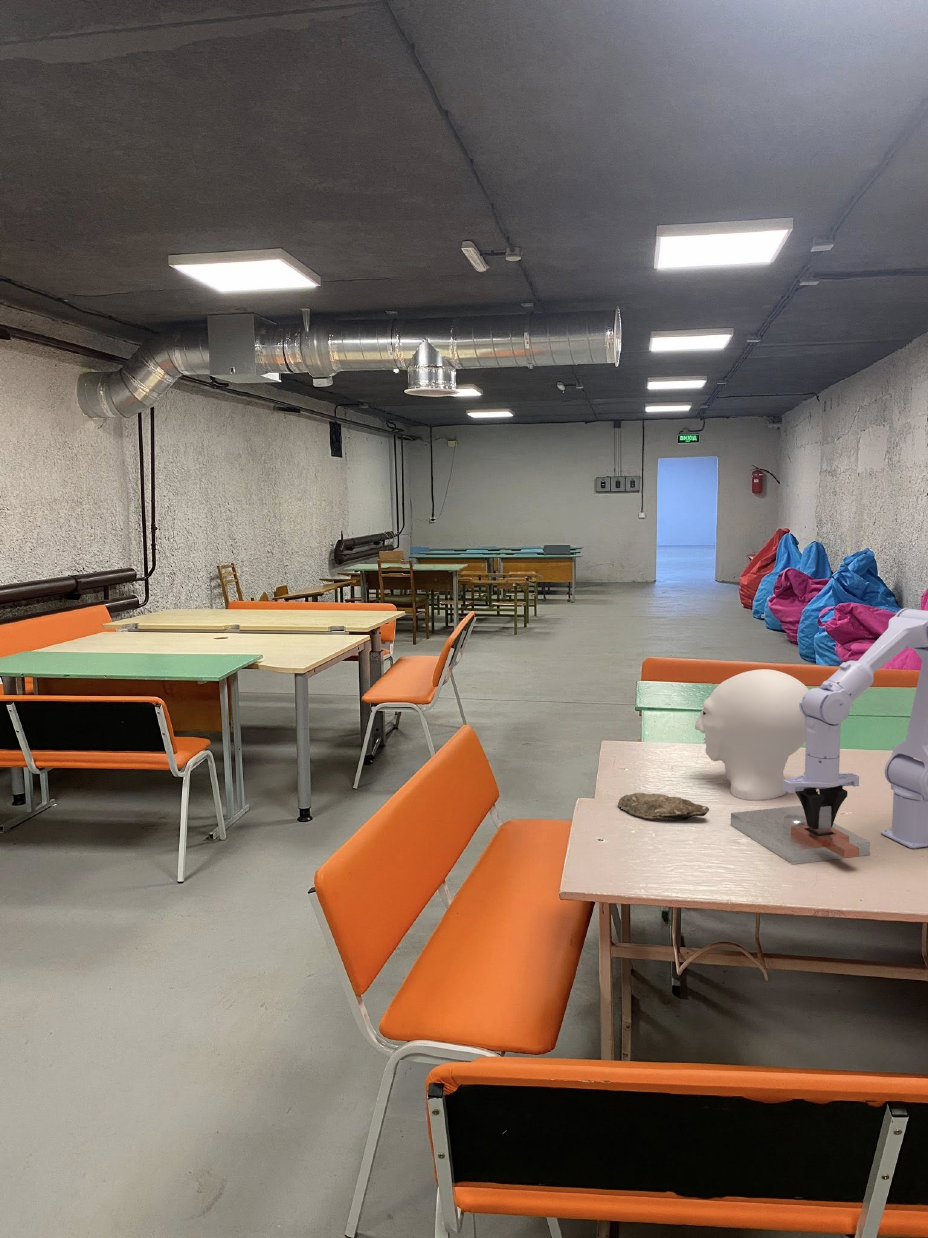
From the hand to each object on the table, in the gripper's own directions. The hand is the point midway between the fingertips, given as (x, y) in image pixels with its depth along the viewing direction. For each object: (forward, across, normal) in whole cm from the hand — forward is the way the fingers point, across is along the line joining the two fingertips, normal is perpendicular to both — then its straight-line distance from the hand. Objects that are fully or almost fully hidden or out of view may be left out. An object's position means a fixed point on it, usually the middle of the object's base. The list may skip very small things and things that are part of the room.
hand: (819, 826), depth 147 cm
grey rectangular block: (+5, 0, 0) cm, 5 cm away
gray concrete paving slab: (+5, 0, -4) cm, 6 cm away
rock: (+5, +19, -26) cm, 32 cm away
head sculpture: (+5, -9, -36) cm, 37 cm away
